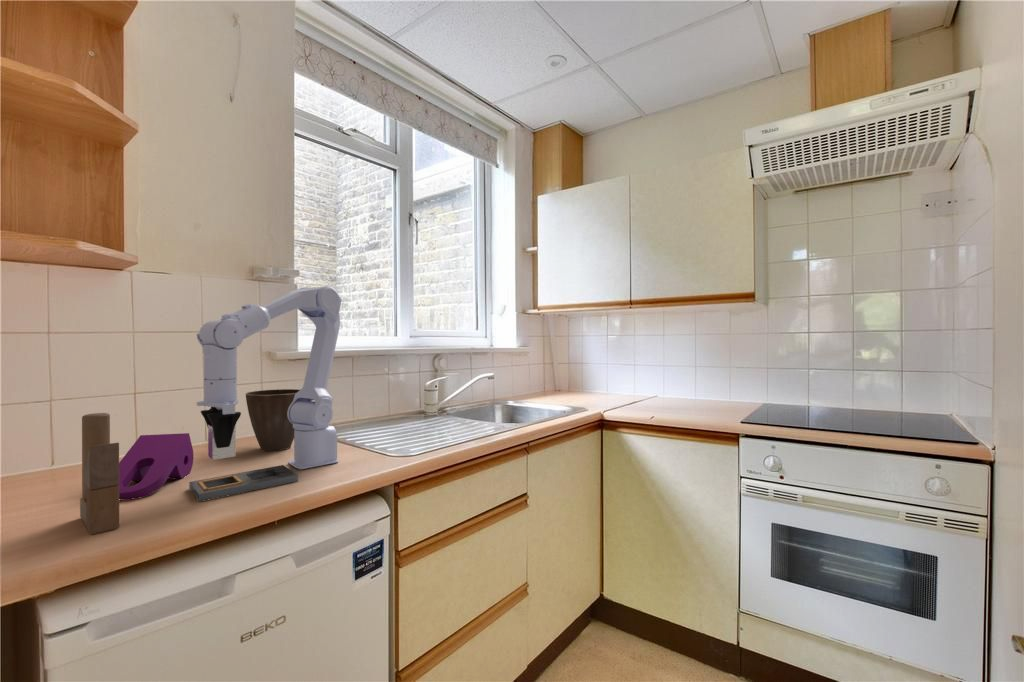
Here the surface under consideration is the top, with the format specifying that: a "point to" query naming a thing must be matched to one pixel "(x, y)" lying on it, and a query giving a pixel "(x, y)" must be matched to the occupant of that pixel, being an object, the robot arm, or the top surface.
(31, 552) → the top surface
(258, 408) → the plant pot
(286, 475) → the grey holder tray
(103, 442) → the wooden block
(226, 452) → the metal block with hole
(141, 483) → the mounting bracket
